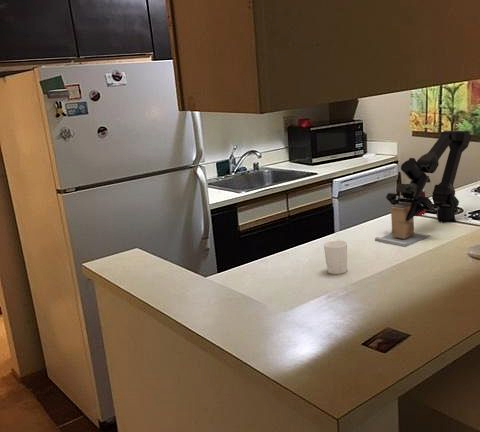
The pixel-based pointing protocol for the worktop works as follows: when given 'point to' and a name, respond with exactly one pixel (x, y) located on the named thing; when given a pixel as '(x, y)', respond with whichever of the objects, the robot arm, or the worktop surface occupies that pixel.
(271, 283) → the worktop surface
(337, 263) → the white cup
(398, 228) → the wooden tall block
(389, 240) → the grey flat slab
